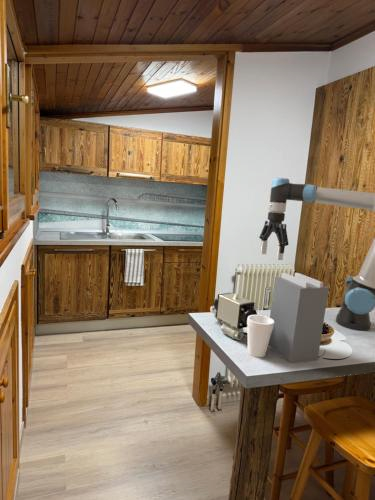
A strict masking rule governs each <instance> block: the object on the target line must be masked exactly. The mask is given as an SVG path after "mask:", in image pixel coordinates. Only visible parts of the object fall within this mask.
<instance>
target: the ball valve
mask: <svg viewBox="0 0 375 500" xmlns="http://www.w3.org/2000/svg"><path fill="white" fill-rule="evenodd" d="M255 304H256V303H255V302H254V301H252V300H249V299H248V298H246V297H244V296H239V294H238V293H233V292H227V293H226V292H225V293H218V294H217V297H215V300H214V301H213V305H214V308H215V310H216V317H217V318H219V319H221V320H222V322H224V323H223V324H222V325H221V329H220V330H221V331H222V333H223V334H225V335H226V336H228V337H230V338H231V339H233V340H236V341H241V340H242V339H243V338H244V332H245V331H244V329H245V328H247V318H248V316H250V315H257V314H258V313H257V310H256V309H255V308H256V307H255Z"/></svg>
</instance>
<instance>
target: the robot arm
mask: <svg viewBox="0 0 375 500" xmlns="http://www.w3.org/2000/svg"><path fill="white" fill-rule="evenodd" d="M287 201H297V202H304V203H313V204H314V203H315V204H316V203H317V204H320V205H321V204H323V205H331V206H338V207H344V208H345V207H346V208H353V209H360V210H366V211H367V210H368V211H372V212H374V213H375V192H366V191H358V190H357V191H356V190H350V189H340V188H332V187H331V188H329V187H321V186H316V185H315V184H310V183H308V184H307V183H306V184H305V183H304V184H303V183H290V179H289V178H283V177H274V178H273V179H272V183H271V187H270V195H269V205H268V211H269V212H268V213H267V220H264V221H265V222H264V226H263V228H262V229H261V231H260V232H261V233H260V235H259V240H261V245H260V246H261V249H260V254H261V255H267V250H268V242H269V241H268V239H269V237H270V236H271V235H272V233H274V234H275V236H276V238H277V240H278V245H277V246H278V248H277V254H276V260H277V261H283V260H284V253H285V248H286V246H289V238H288V231H287V224H286V223H283V222H284V221H285V218H286V214H285V213H286V209H287ZM374 309H375V237H373V241H372V243H371V245H370V247H369V250H368V252H367V254H366V256H365V259H364V261H363V263H362V266H361V268H360V270H359V272H358V274H357V275H356V276H352V275H349V276H347V277H346V280H345V287H344V292H343V298H342V304H341V307H340V309H339V311H338V313H337V315H336V316H335V322H336V323H337V324H338V325H340V326H342V327H345V328H347V329H350V330H355V331H356V330H357V331H368V330H370V329H371V326H372V325H371V324H372V323H371V318H370V313H371V312H372V311H373V310H374Z"/></svg>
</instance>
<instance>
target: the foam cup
mask: <svg viewBox="0 0 375 500" xmlns="http://www.w3.org/2000/svg"><path fill="white" fill-rule="evenodd" d="M246 328H247V329H246V330H247V353H248V355H250V356H252V357H254V358H263V357H265V356H266V355H267V351H268V350H267V349H268V347H269V346H268V343H269V340H270V336H271V333H272V330H273V328H274V320H273V319H271V318H270V316H266V315H261V314H258V315H250V316H248V318H247V327H246Z"/></svg>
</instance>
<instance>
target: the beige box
mask: <svg viewBox="0 0 375 500" xmlns="http://www.w3.org/2000/svg"><path fill="white" fill-rule="evenodd" d="M209 309H210V312H211V313H212V314H214V318H215V319H216V320H217V321H216V322H217V323H218V324H222V323H223V320H221V319H219V318H217V317H216V310H215V308H214V304H213V305H212V306H210V308H209Z"/></svg>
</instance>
